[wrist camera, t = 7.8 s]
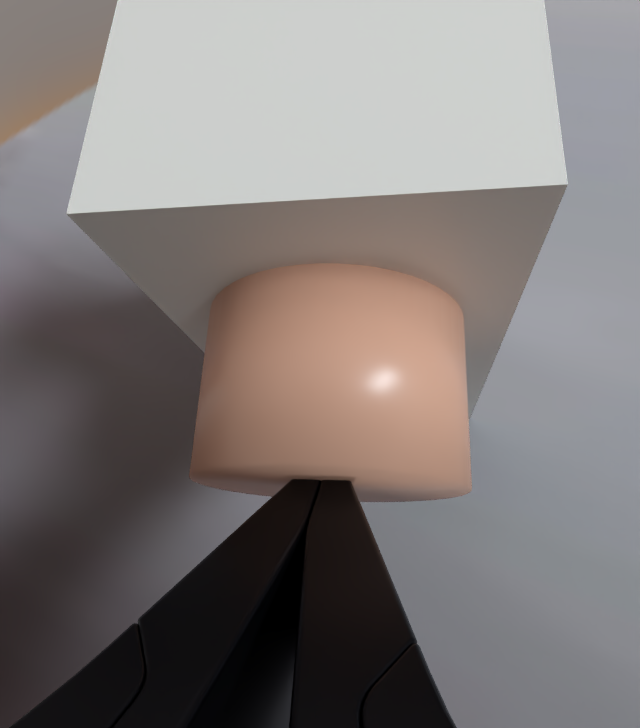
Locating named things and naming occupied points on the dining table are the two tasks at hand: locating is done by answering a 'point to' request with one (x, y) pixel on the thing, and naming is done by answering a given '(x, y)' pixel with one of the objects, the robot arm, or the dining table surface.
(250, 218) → the white tall block
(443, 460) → the terracotta button
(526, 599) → the dining table surface
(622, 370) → the dining table surface
